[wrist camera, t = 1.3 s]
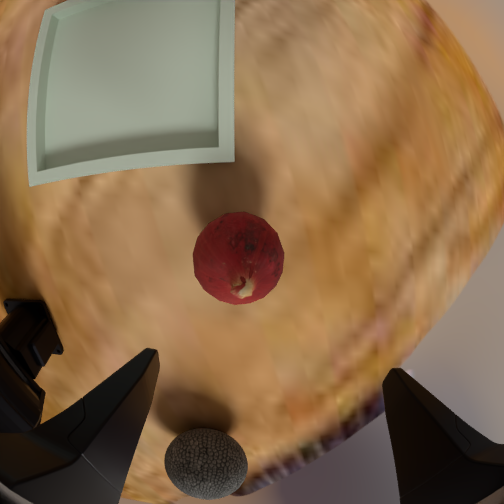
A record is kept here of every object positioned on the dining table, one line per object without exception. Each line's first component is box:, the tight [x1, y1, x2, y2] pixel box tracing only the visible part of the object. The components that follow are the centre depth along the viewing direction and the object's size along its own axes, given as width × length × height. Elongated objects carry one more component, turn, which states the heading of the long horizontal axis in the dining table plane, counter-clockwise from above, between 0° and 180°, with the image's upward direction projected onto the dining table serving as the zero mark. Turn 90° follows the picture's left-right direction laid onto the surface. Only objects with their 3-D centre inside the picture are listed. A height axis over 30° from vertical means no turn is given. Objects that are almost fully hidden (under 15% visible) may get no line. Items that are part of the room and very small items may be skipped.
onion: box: [193, 212, 284, 305], centre depth 17 cm, size 6×6×8 cm
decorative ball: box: [165, 428, 248, 500], centre depth 25 cm, size 10×10×10 cm
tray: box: [27, 0, 235, 187], centre depth 14 cm, size 16×16×2 cm
